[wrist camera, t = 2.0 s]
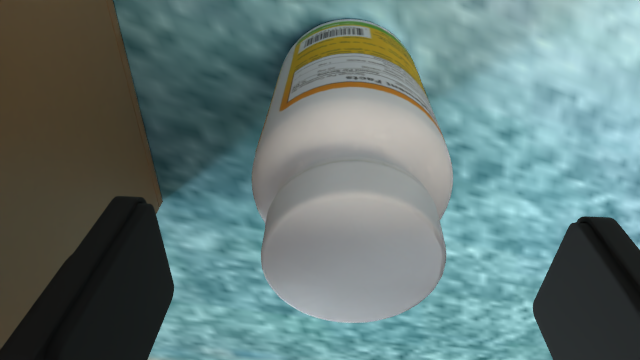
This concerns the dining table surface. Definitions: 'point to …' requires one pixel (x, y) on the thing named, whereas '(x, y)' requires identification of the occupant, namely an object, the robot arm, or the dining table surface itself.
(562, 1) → the dining table surface
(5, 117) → the waste box
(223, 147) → the dining table surface
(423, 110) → the supplement bottle
